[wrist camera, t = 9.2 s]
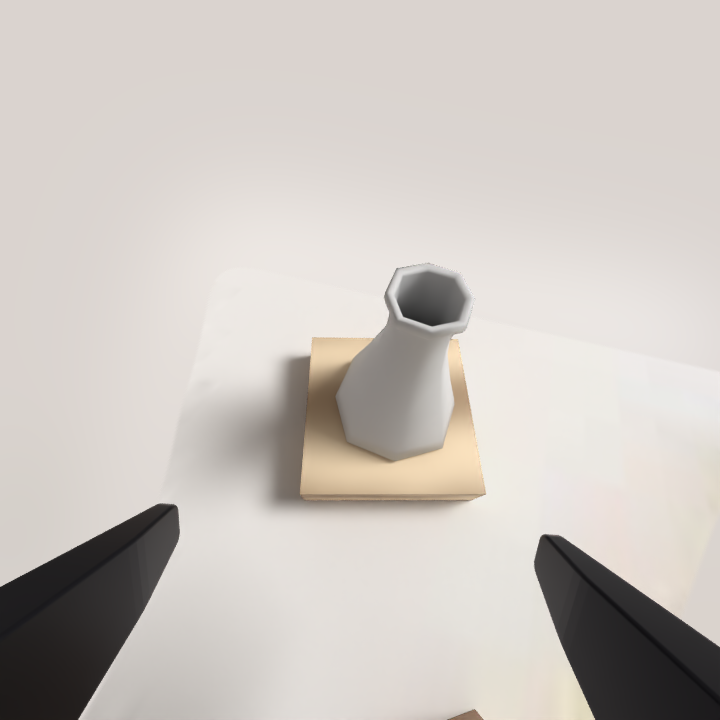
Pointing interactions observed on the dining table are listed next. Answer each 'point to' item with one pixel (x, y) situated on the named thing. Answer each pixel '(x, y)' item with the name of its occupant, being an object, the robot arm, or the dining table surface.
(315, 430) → the oak block
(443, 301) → the flask
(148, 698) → the dining table surface
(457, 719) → the walnut cube
